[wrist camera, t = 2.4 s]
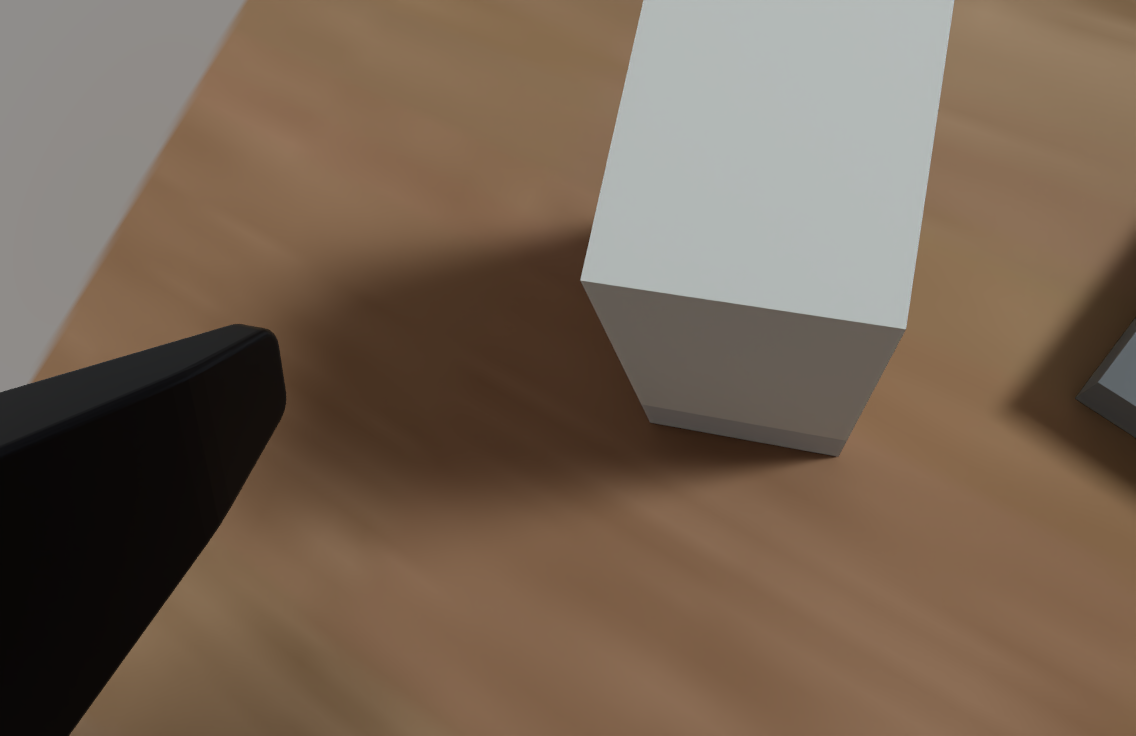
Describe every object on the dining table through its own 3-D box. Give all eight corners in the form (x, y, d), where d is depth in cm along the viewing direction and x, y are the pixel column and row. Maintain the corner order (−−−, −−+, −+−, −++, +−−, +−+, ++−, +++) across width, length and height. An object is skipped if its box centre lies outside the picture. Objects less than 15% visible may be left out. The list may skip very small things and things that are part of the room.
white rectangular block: (838, 456, 22) (906, 328, 13) (650, 422, 23) (580, 280, 14) (873, 234, 23) (959, -36, 14) (692, 211, 24) (655, -56, 15)
